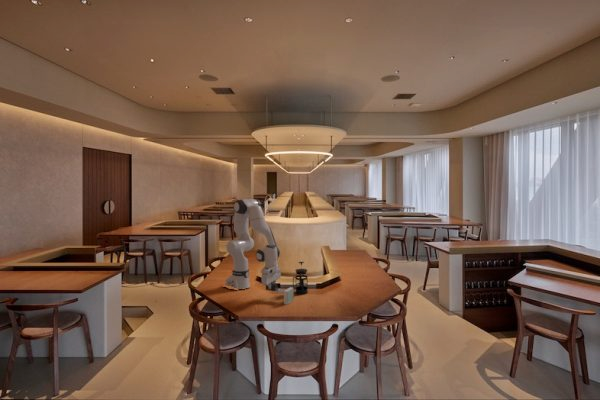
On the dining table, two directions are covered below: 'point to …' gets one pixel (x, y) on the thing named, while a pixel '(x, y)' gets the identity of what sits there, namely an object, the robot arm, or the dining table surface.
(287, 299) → the tile
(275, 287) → the turner
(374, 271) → the dining table surface
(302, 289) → the french press
